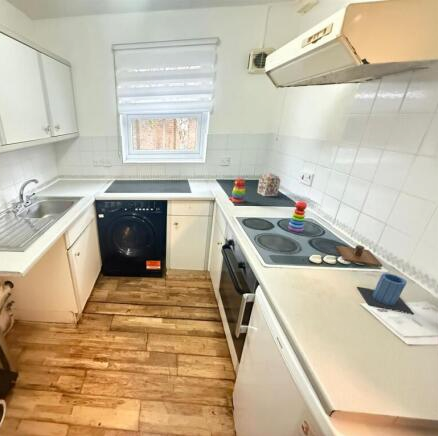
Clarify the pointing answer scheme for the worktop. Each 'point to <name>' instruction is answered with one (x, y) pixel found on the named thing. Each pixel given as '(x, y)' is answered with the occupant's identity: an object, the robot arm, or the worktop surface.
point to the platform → (357, 259)
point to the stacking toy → (298, 217)
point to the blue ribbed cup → (389, 289)
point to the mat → (371, 301)
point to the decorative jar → (268, 185)
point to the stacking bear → (238, 191)
